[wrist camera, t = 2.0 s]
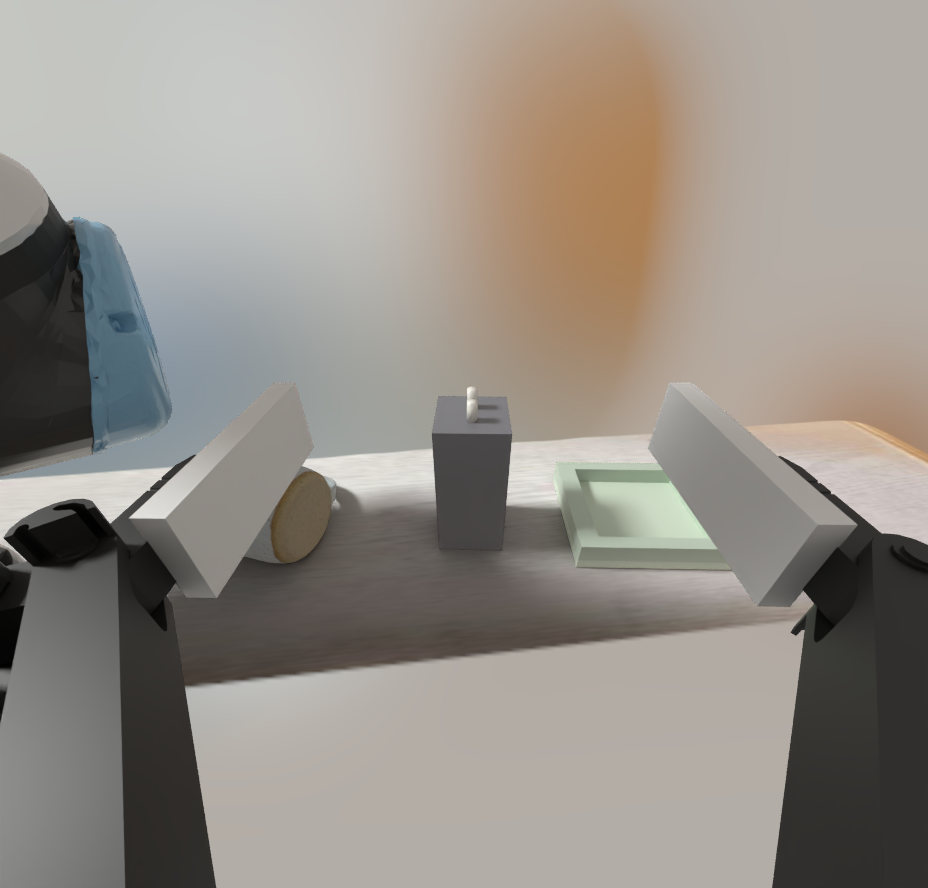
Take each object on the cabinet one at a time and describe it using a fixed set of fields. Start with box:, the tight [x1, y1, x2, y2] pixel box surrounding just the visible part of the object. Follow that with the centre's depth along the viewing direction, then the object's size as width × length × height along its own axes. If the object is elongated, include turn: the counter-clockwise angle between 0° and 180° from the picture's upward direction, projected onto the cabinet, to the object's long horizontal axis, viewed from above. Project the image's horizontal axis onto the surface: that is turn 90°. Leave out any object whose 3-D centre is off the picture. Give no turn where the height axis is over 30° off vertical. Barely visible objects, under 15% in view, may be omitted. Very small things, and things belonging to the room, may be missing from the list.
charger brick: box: [432, 387, 512, 550], centre depth 28 cm, size 5×5×12 cm
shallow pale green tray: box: [553, 462, 732, 570], centre depth 31 cm, size 12×10×2 cm
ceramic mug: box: [244, 466, 337, 563], centre depth 29 cm, size 11×8×8 cm
